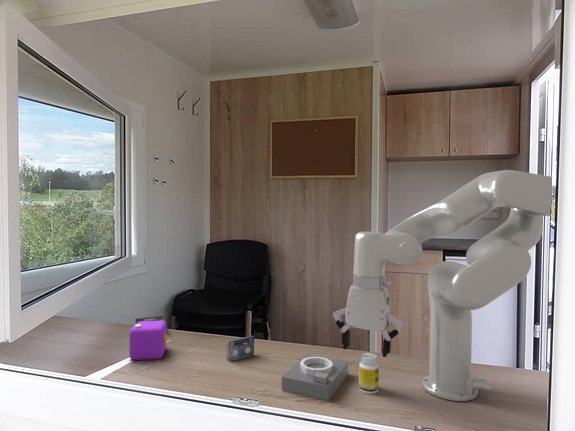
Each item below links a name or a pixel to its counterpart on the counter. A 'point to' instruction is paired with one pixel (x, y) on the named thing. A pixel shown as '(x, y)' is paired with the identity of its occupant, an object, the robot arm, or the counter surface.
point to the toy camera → (148, 340)
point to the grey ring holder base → (315, 377)
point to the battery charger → (150, 319)
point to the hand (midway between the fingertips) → (365, 351)
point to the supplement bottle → (368, 373)
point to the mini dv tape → (240, 348)
